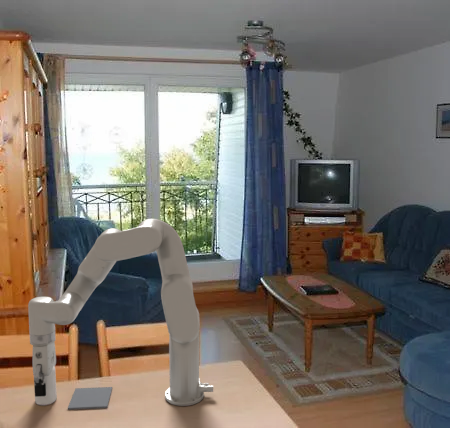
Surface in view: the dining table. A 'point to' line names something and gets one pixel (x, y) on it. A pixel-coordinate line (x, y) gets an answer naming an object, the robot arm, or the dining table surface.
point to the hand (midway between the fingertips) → (44, 388)
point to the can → (48, 389)
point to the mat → (90, 398)
